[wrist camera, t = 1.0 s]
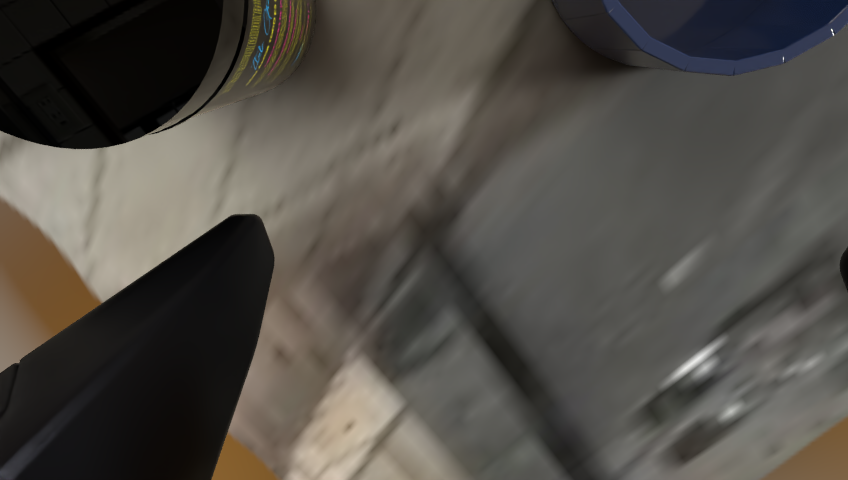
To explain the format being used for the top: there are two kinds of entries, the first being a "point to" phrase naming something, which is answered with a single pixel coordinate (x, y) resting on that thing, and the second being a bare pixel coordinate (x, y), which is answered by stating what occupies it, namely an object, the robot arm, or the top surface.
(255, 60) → the supplement container
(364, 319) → the top surface
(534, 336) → the top surface
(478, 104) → the top surface
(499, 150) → the top surface
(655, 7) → the blue rimmed bowl
